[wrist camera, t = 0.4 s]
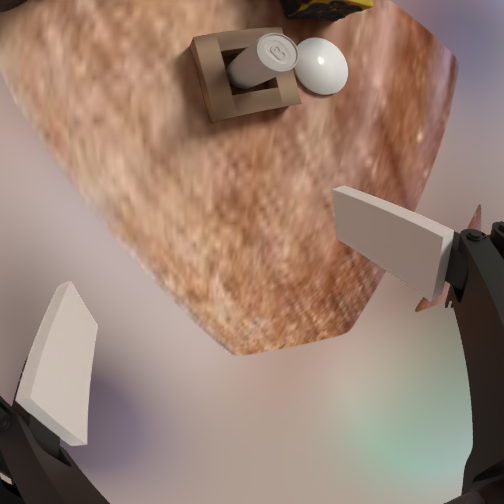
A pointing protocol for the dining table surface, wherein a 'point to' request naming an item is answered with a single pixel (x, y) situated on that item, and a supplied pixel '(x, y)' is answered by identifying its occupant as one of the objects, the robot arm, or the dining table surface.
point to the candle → (323, 8)
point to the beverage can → (263, 61)
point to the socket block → (216, 81)
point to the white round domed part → (320, 66)
